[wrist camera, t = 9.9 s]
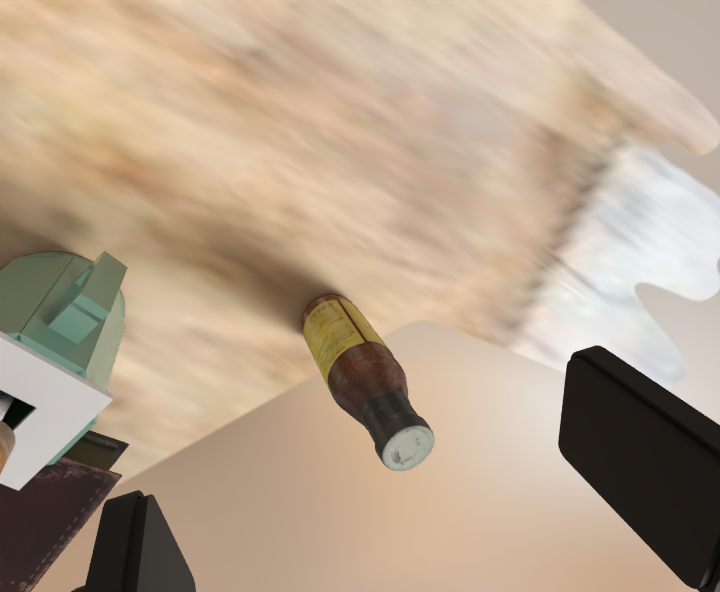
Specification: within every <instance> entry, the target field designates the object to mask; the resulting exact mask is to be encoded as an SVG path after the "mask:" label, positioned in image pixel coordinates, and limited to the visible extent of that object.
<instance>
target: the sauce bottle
mask: <svg viewBox="0 0 720 592" xmlns="http://www.w3.org/2000/svg"><path fill="white" fill-rule="evenodd" d="M302 330H303V332H304V338H305V340H306V343H307V345H308V347H309V349H310V351H311V353H312V355H313V357H314V359H315V361H316V363H317V365H318V367H319V370H320V372H321V374H322V376H323V378H324V380H325V382H326V384H327V386H328V388H329V390H330V392H331V394H332V396H333V398H334V400H335V401H336V403H337V404H338V405H339V406H340V407H341V408H342V409H343V410H345V411H346V412H347V413H348V414H350V415H351V416H352V417H353V418H355V419H356V420H357V421H358V422H360V423H361V424H362V425H364V426H365V427H366V429H367V430H368V431H369V433H370V435H371V437H372V439H373V441H374V442H375V450H376V452H377V454H378V456H379V458H380V459H381V461H382V462H383V464H384V465H385V466H386V467H388V468H389V469H391V470H394V471H407V470H410V469H412V468H414V467H416V466H418V465H419V464H421V463H422V462H423V461H424V460H425V459H426V458H427V457H428V456H429V455H430V453H431V452H432V449H433V447H434V441H435V440H434V434H433V432H432V431H431V429H430V427H429V425H428V424H427V423H426V421H425V420H424V419H423V418H422V417H420V416H418V415H417V413H416V412H415V411H414V409H413V408H412V406H411V405H410V402H409V399H408V388H407V382H406V376H405V373H404V371H403V369H402V367H401V366H400V365H399V363H398V362H397V361H396V360H395V358H394V357H393V355H392V353H391V351H390V350H389V348H388V347H387V346H386V345H385V343H384V342H383V341H382V339H381V338H380V337H379V336H378V334H377V333H376V332H375V330H374V329H373V328H372V327H371V325H370V324H369V322H368V321H367V320H366V319H365V317H364V316H363V315H362V313H361V312H360V311H359V310H358V308H357V307H356V306H355V305H354V304H353V303H352V302H351V301H349V300H347V299H346V298H344V297H341V296H336V295H326V296H323V297H320V298H319V299H317V300H315V301H314V302H312V303H311V304H310V305H309V306H308V308H307V309H306V310H305V313H304V315H303V319H302Z"/></svg>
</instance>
